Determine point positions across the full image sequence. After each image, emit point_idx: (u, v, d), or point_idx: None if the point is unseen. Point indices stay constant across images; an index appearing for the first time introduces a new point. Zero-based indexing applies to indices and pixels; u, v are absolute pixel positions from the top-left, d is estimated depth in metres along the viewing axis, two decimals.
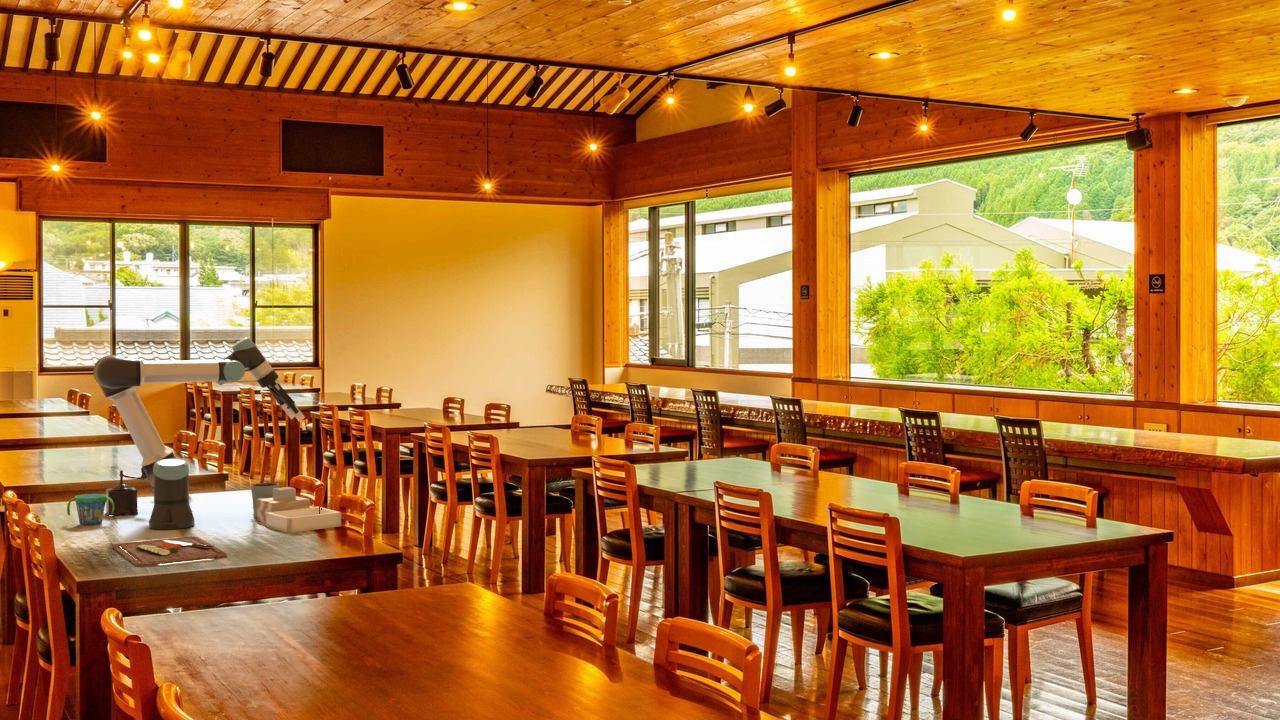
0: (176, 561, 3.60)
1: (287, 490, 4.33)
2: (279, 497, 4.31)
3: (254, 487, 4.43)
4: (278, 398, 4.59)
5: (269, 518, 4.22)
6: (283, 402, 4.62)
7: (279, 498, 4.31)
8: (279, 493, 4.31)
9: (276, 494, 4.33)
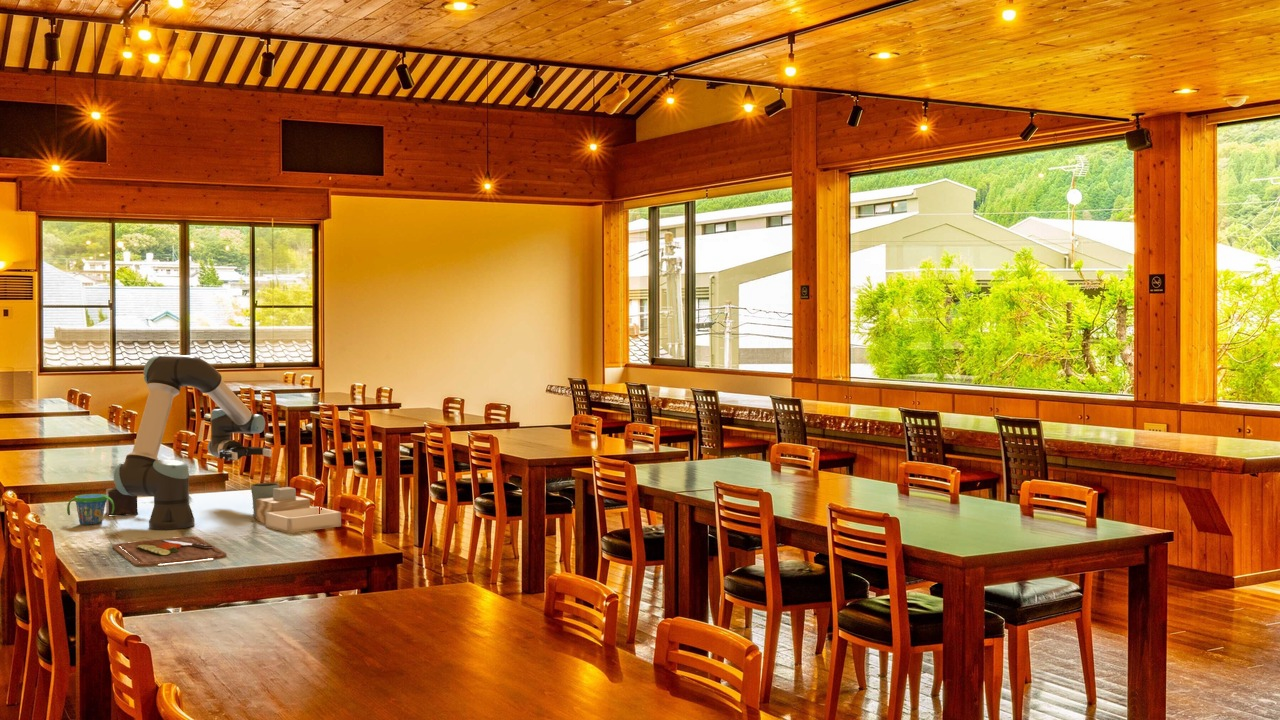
0: (176, 561, 3.60)
1: (287, 490, 4.33)
2: (279, 497, 4.31)
3: (254, 487, 4.43)
4: (231, 451, 4.58)
5: (269, 518, 4.22)
6: None
7: (279, 498, 4.31)
8: (279, 493, 4.31)
9: (276, 494, 4.33)
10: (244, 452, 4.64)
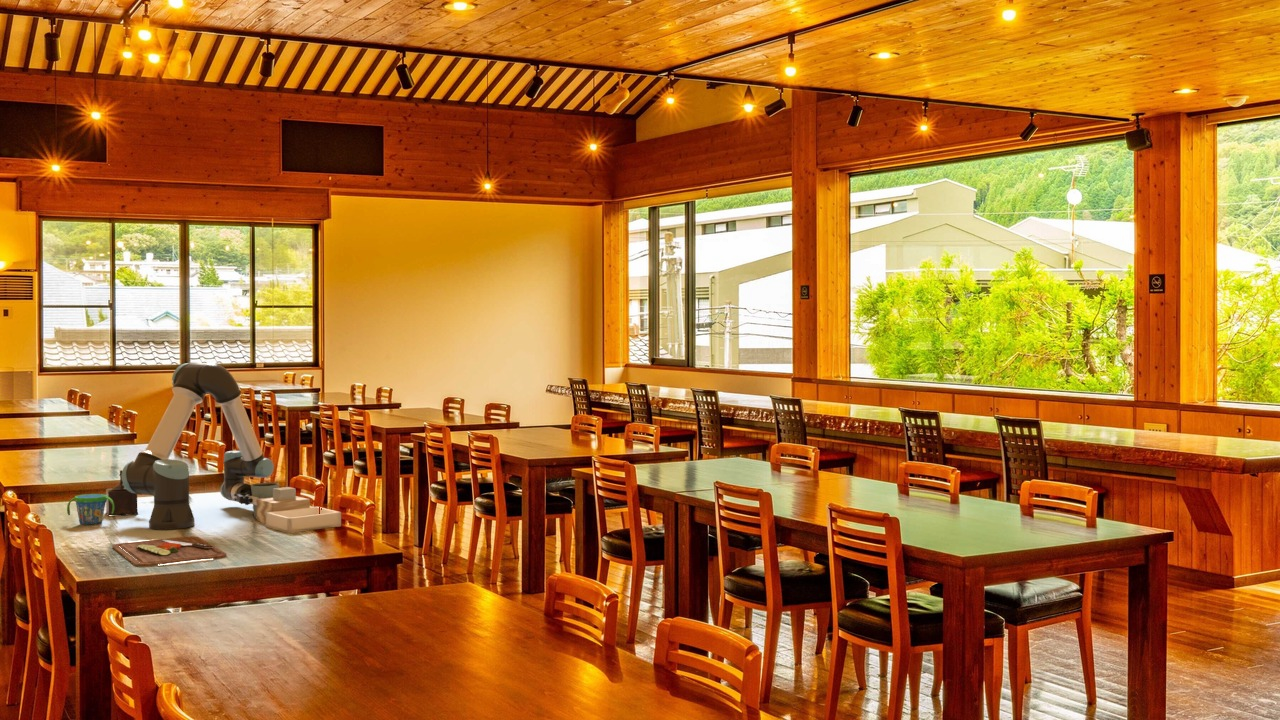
0: (176, 561, 3.60)
1: (287, 490, 4.33)
2: (279, 497, 4.31)
3: (254, 487, 4.43)
4: (249, 496, 4.49)
5: (269, 518, 4.22)
6: None
7: (279, 498, 4.31)
8: (279, 493, 4.31)
9: (276, 494, 4.33)
10: None
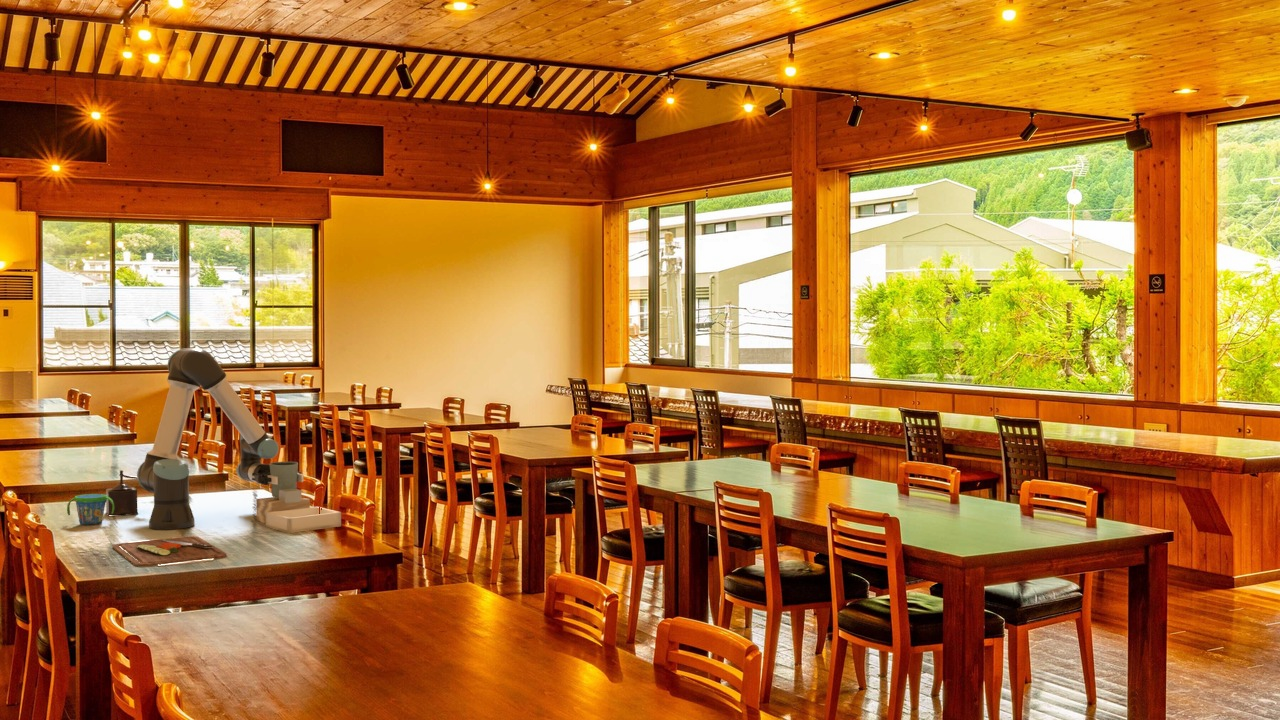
0: (176, 561, 3.60)
1: (292, 492, 4.29)
2: (284, 499, 4.28)
3: (273, 466, 4.33)
4: (267, 475, 4.39)
5: (269, 518, 4.22)
6: None
7: (284, 500, 4.28)
8: (285, 495, 4.27)
9: (281, 496, 4.30)
10: None
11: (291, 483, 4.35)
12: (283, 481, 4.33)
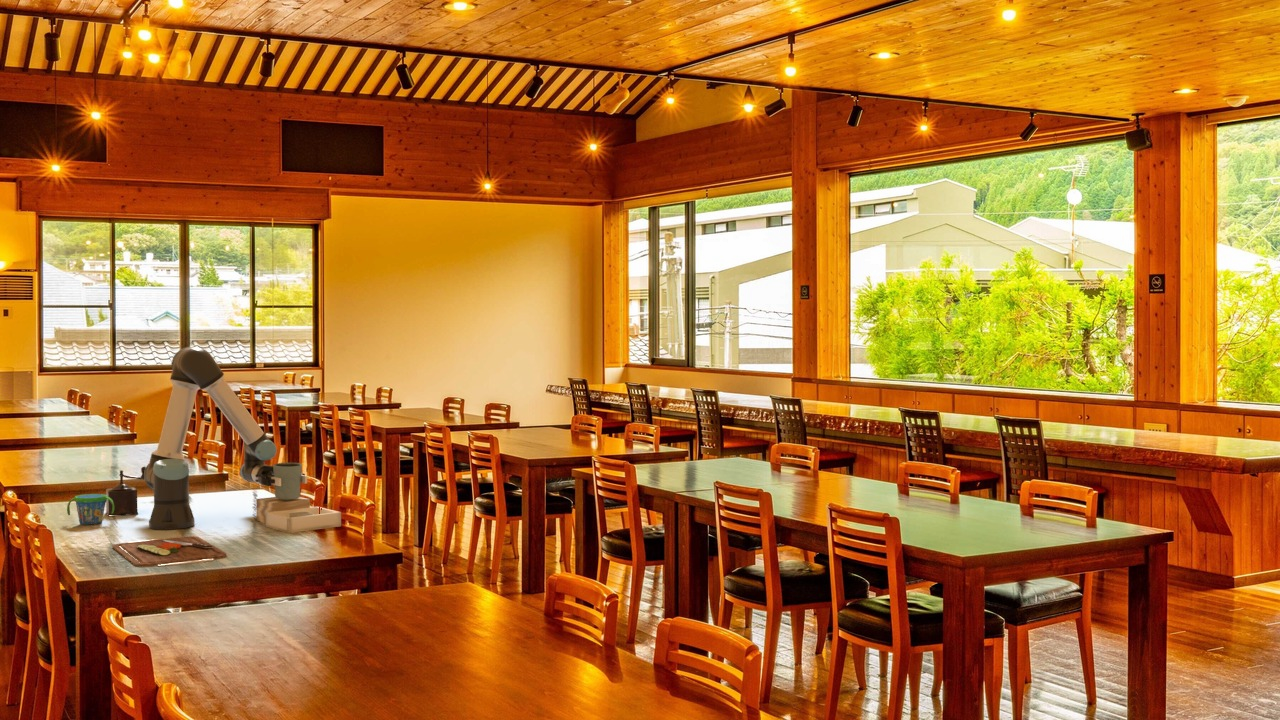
0: (176, 561, 3.60)
1: None
2: (290, 517, 4.23)
3: (276, 467, 4.29)
4: None
5: (269, 518, 4.22)
6: None
7: (290, 516, 4.23)
8: None
9: None
10: None
11: (294, 484, 4.30)
12: (286, 483, 4.29)
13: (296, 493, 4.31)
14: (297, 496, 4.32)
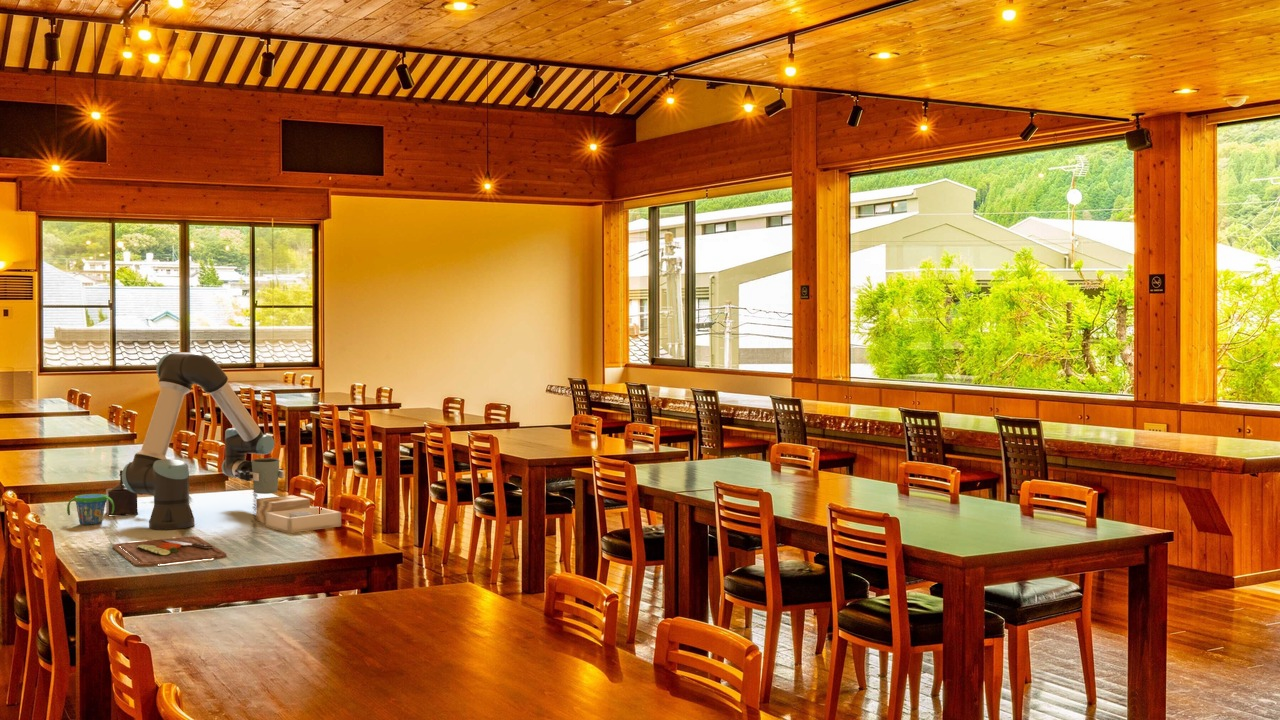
0: (176, 561, 3.60)
1: None
2: (290, 517, 4.23)
3: (254, 463, 4.42)
4: None
5: (269, 518, 4.22)
6: None
7: (290, 516, 4.23)
8: None
9: None
10: None
11: (272, 479, 4.44)
12: (264, 478, 4.42)
13: (274, 488, 4.45)
14: (275, 491, 4.45)
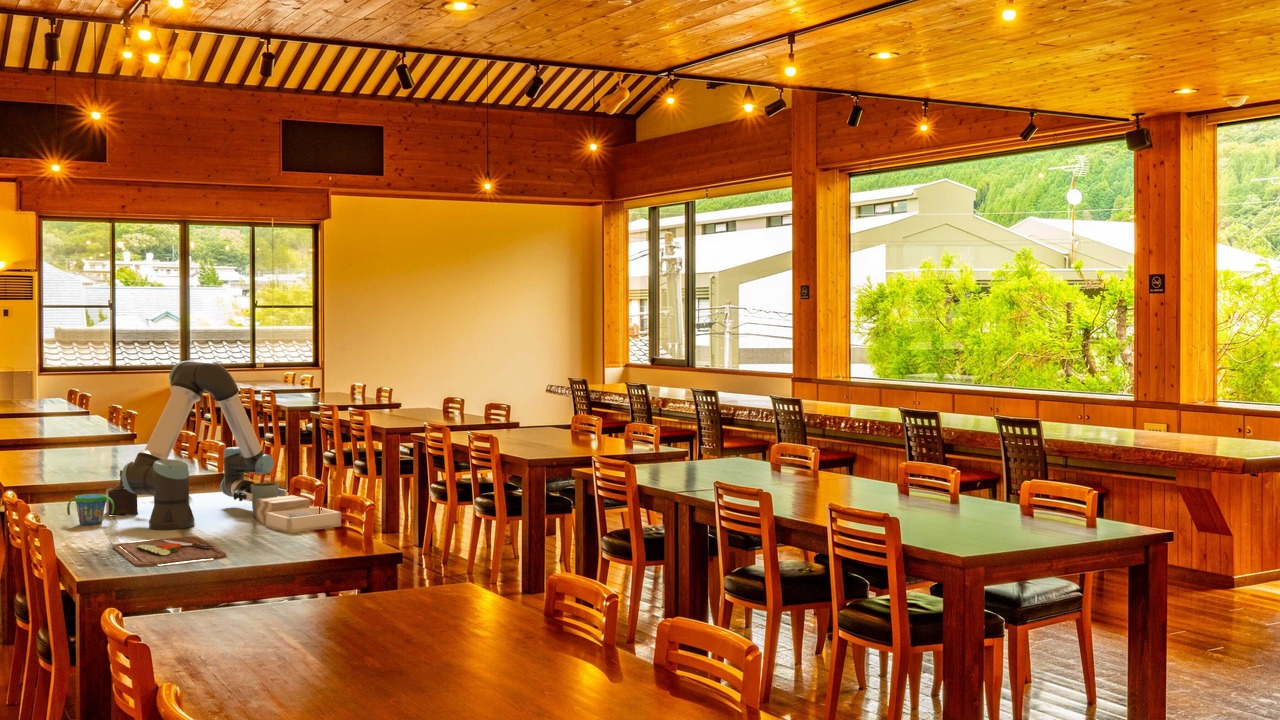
0: (176, 561, 3.60)
1: None
2: (290, 517, 4.23)
3: (254, 487, 4.43)
4: (245, 492, 4.49)
5: (269, 518, 4.22)
6: None
7: (290, 516, 4.23)
8: None
9: None
10: None
11: None
12: None
13: None
14: None
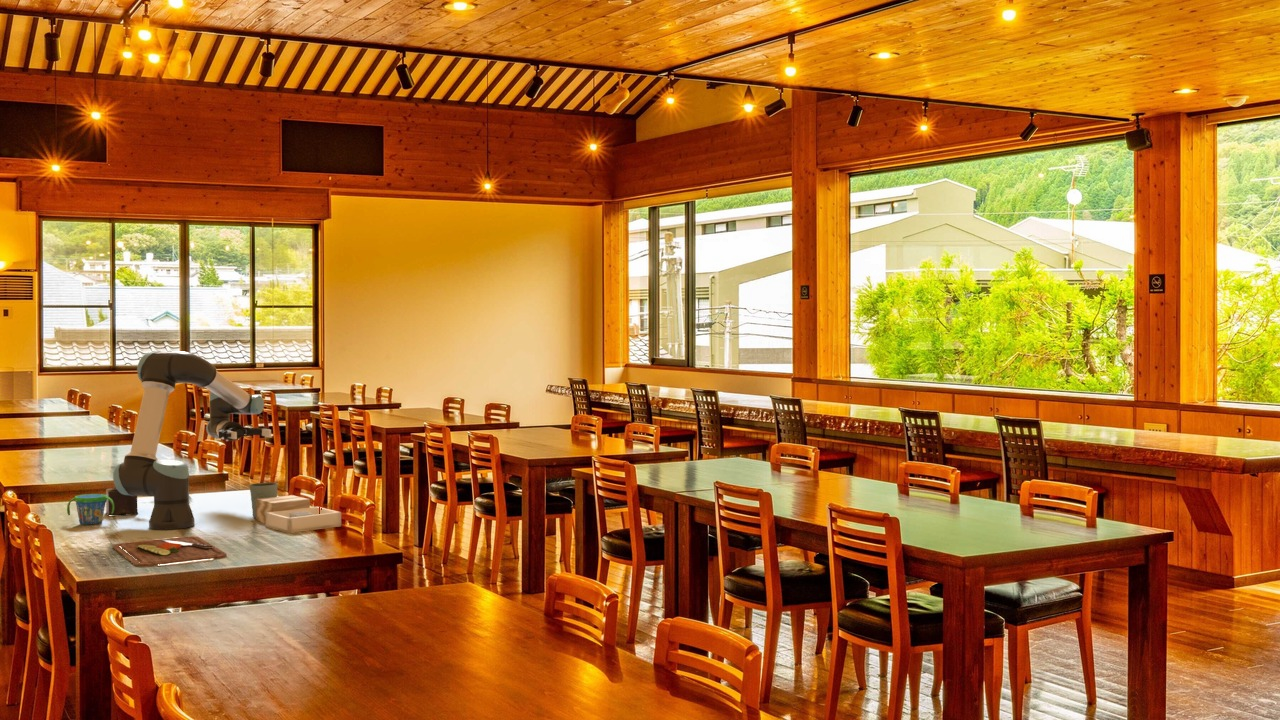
0: (176, 561, 3.60)
1: None
2: (290, 517, 4.23)
3: (252, 487, 4.43)
4: None
5: (269, 518, 4.22)
6: None
7: (290, 516, 4.23)
8: None
9: None
10: (243, 432, 4.63)
11: None
12: None
13: None
14: None
